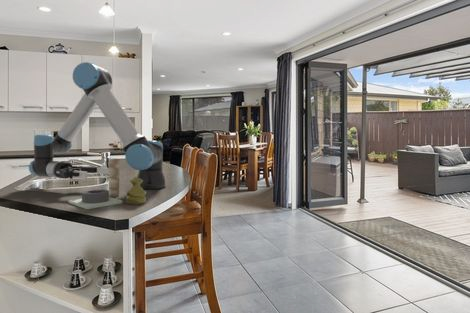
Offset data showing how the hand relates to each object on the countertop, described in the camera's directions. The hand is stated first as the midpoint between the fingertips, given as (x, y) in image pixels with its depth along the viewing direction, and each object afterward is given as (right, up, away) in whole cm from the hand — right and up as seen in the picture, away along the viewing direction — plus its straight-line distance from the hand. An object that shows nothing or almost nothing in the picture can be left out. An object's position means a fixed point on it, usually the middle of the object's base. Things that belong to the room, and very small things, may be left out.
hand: (98, 173), depth 138 cm
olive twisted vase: (+20, -11, -12) cm, 26 cm away
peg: (+7, -10, -1) cm, 12 cm away
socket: (+5, -11, -15) cm, 19 cm away
